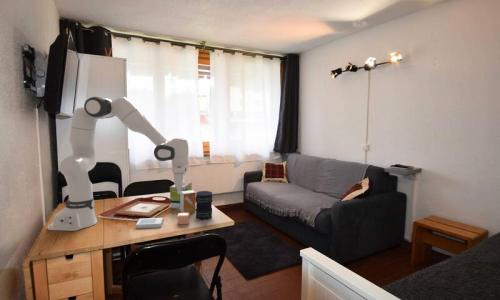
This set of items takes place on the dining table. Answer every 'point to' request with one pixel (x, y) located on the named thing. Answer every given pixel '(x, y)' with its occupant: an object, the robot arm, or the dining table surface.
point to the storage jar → (203, 205)
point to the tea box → (176, 197)
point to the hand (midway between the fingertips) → (179, 191)
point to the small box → (188, 201)
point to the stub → (183, 218)
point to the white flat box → (149, 222)
